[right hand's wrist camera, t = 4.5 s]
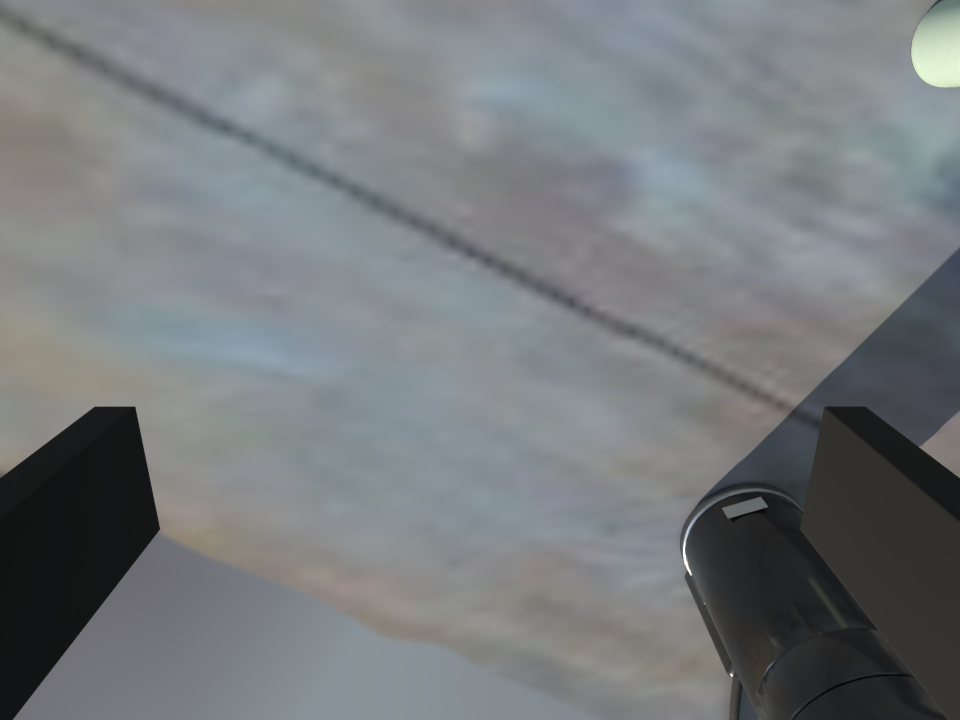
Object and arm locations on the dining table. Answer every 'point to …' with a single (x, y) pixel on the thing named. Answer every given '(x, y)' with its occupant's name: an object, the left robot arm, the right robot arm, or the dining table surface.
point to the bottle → (938, 45)
